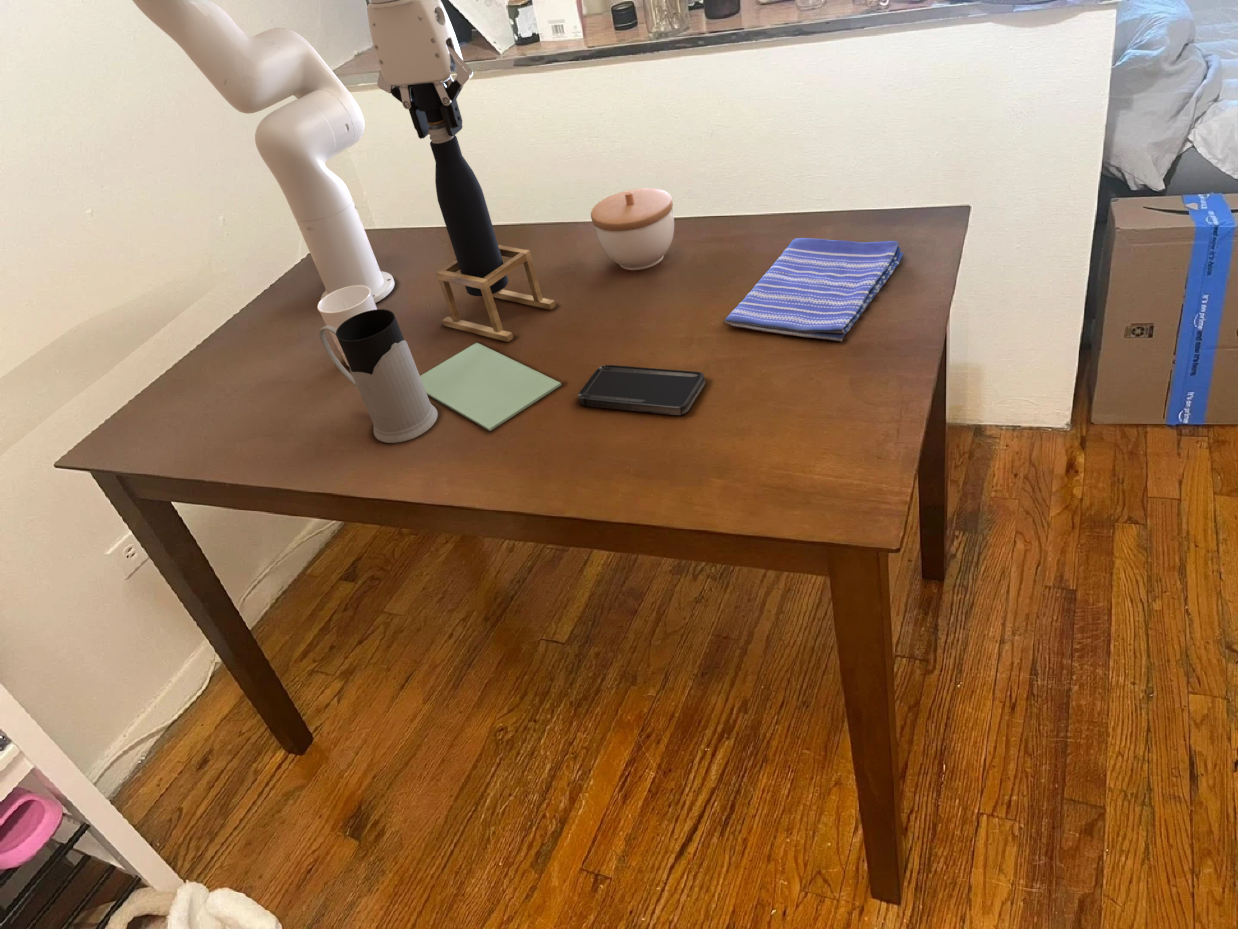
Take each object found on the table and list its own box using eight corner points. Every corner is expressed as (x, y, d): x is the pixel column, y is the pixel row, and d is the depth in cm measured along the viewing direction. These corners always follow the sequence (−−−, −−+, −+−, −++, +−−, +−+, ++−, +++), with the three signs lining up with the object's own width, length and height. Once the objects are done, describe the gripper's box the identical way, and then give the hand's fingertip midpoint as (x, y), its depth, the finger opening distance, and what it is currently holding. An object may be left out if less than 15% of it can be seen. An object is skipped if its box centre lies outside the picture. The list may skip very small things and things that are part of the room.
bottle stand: (444, 325, 146) (424, 271, 140) (491, 292, 151) (475, 239, 146) (508, 342, 137) (490, 285, 132) (556, 306, 143) (541, 250, 138)
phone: (600, 364, 125) (706, 372, 118) (602, 371, 126) (708, 379, 119) (574, 398, 120) (683, 409, 113) (576, 405, 120) (685, 416, 114)
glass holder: (408, 448, 121) (365, 347, 112) (332, 429, 128) (287, 333, 119) (450, 409, 126) (414, 310, 117) (375, 392, 133) (335, 299, 124)
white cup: (404, 344, 143) (381, 285, 137) (373, 373, 138) (348, 313, 132) (363, 341, 147) (339, 284, 141) (332, 369, 141) (306, 311, 135)
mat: (409, 384, 133) (408, 382, 133) (477, 344, 139) (476, 342, 138) (489, 431, 120) (489, 428, 120) (561, 385, 125) (560, 382, 125)
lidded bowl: (682, 270, 144) (671, 201, 138) (601, 284, 146) (586, 217, 139) (679, 235, 154) (668, 169, 148) (603, 248, 156) (589, 184, 149)
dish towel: (906, 256, 134) (906, 237, 132) (845, 344, 119) (844, 325, 118) (793, 247, 143) (791, 230, 141) (723, 329, 128) (720, 310, 127)
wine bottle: (501, 295, 138) (439, 86, 120) (461, 298, 140) (394, 92, 122) (513, 273, 143) (455, 69, 125) (474, 277, 145) (411, 76, 127)
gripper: (468, -31, 116) (507, 118, 127) (355, -14, 122) (401, 127, 133) (442, -14, 111) (484, 140, 122) (324, 3, 117) (375, 148, 128)
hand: (440, 132), depth 127 cm, fingers closed on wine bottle, 3 cm apart
